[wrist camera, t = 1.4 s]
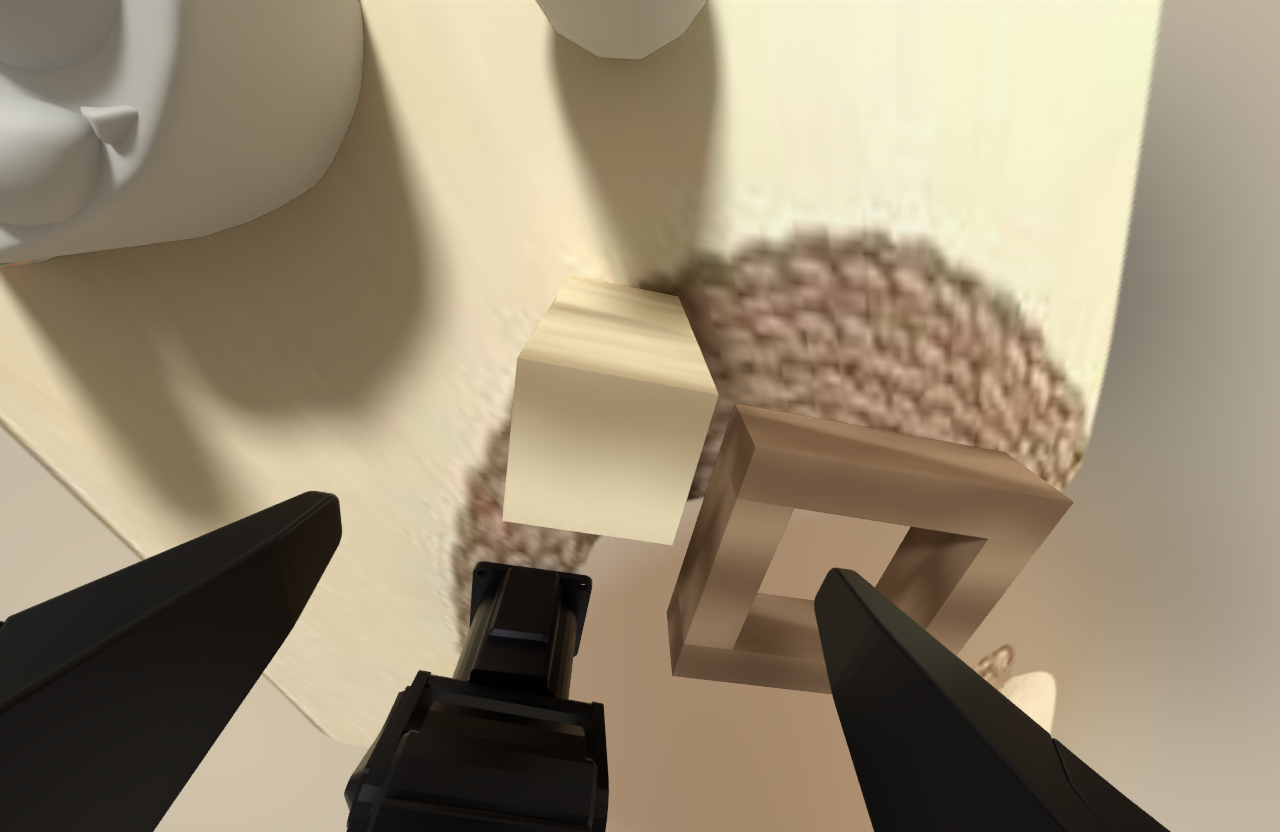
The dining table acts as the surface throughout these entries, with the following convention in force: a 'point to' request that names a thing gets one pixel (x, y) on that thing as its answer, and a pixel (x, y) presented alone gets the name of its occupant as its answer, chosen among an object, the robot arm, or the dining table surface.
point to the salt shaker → (621, 24)
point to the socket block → (856, 487)
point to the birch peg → (608, 414)
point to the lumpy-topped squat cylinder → (165, 116)
